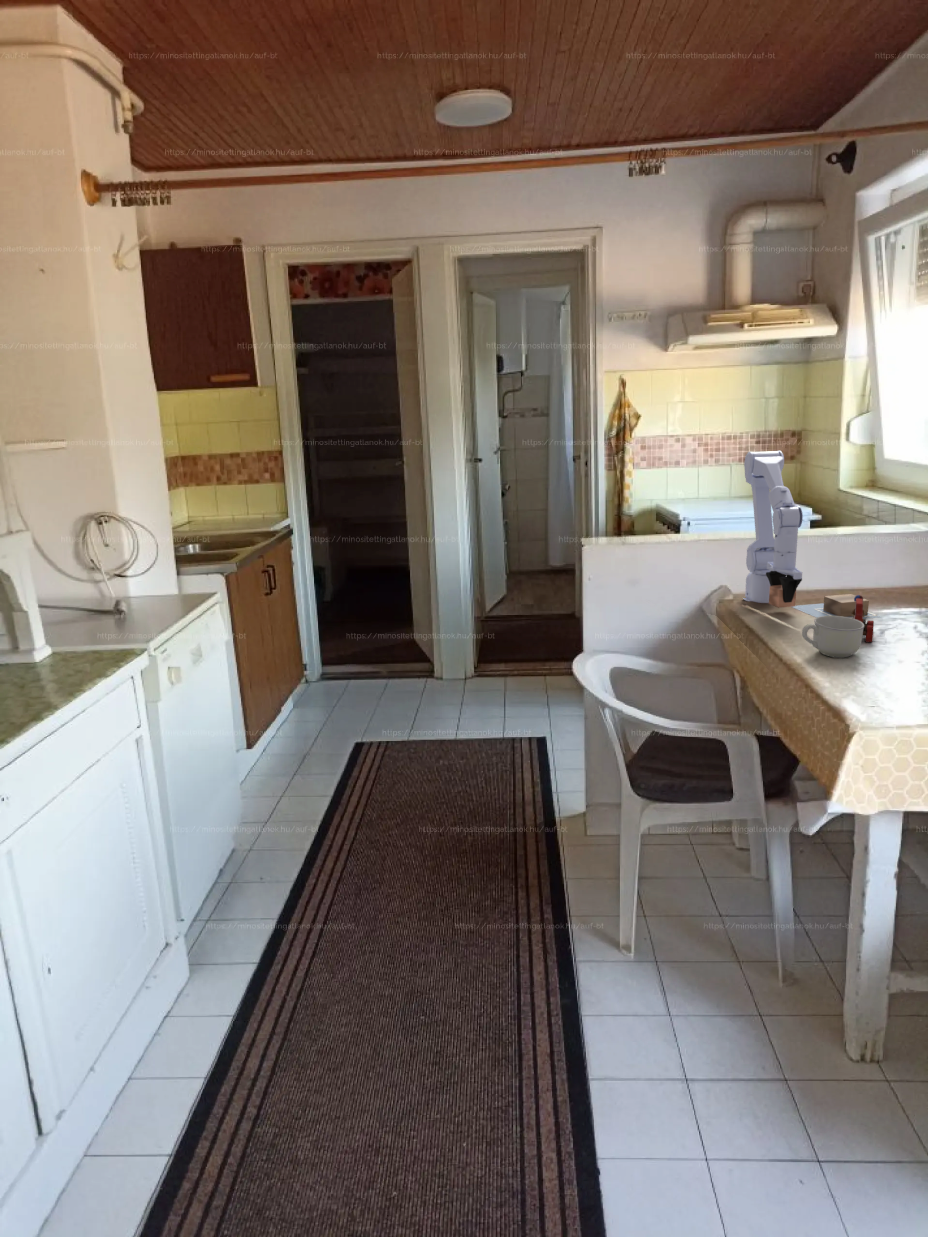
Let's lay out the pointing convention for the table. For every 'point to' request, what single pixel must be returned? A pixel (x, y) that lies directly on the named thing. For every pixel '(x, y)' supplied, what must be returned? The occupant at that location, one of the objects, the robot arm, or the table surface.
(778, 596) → the terracotta cube
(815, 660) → the table surface
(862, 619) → the toy fire truck
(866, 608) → the walnut slab
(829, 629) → the teacup
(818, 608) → the board
